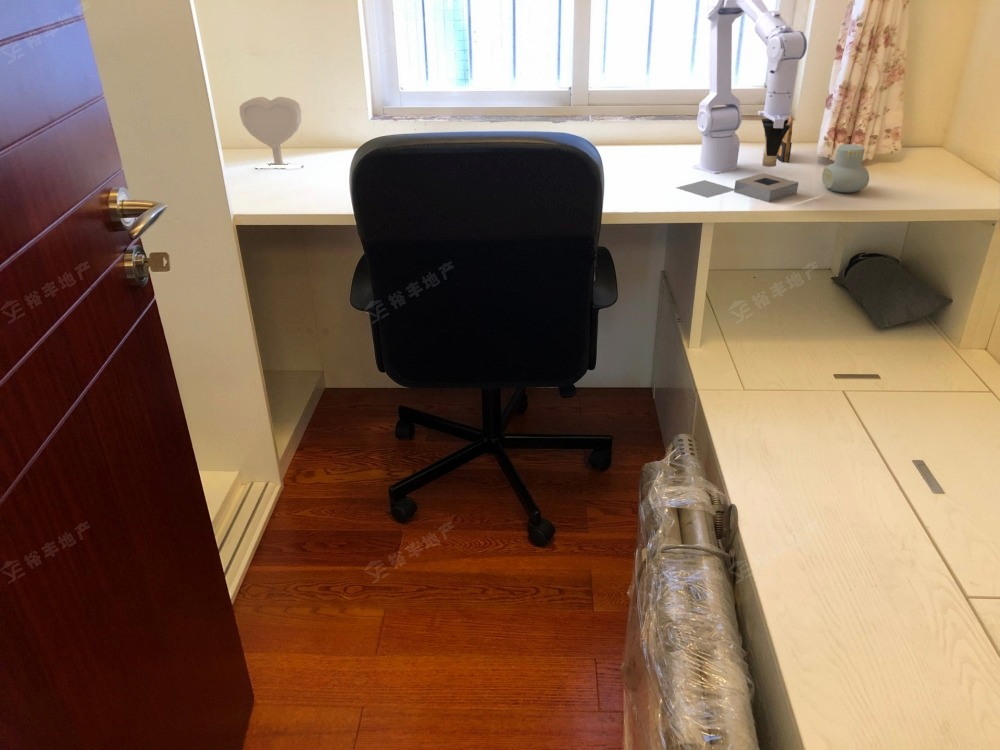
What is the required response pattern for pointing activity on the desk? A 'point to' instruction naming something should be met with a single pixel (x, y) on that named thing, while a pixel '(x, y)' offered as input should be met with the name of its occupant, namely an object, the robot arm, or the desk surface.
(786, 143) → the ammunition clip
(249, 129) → the heart sculpture
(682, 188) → the mat
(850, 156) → the air freshener
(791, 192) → the square hole block
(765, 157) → the peg
